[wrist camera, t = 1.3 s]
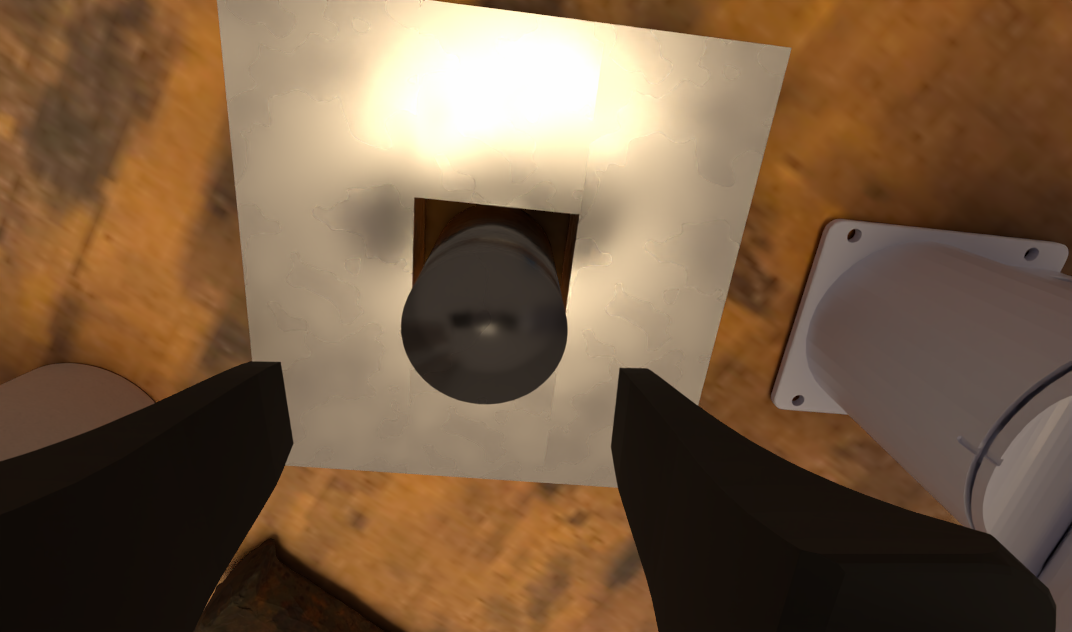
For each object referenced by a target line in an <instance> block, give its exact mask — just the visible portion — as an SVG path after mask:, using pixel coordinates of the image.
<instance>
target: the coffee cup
mask: <svg viewBox="0 0 1072 632" xmlns="http://www.w3.org/2000/svg"><path fill="white" fill-rule="evenodd" d="M154 403H155V402H154V401H153V400H152V399H151V398H150V397H149V396H148V395H147V394H146V393H145V392H143V391H142V390H141V389H140V388H138V387H137V386H136V385H134V384H133V383H131V382H130V381H128V380H126V379H124V378H123V377H121V376H119V375H117V374H114V373H112V372H110V371H107V370H104V369H101V368H98V367H94V366H90V365H84V364H76V363H58V364H51V365H46V366H43V367H40V368H37V369H34V370H32V371H30V372H28V373H26V374H23V375H21V376H19V377H17V378H15V379H12V380H10V381H8V382H6V383H4V384H2V385H0V461H3V460H6V459H9V458H13V457H16V456H20V455H23V454H26V453H29V452H32V451H35V450H38V449H41V448H43V447H46V446H49V445H52V444H55V443H58V442H61V441H63V440H66V439H69V438H72V437H74V436H77V435H80V434H82V433H85V432H88V431H90V430H93V429H95V428H98V427H100V426H103V425H105V424H108V423H110V422H112V421H115V420H117V419H119V418H122V417H124V416H126V415H129V414H131V413H133V412H136V411H138V410H140V409H143V408H145V407H147V406H150V405H152V404H154Z"/></svg>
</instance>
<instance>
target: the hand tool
mask: <svg viewBox="0 0 1072 632" xmlns="http://www.w3.org/2000/svg"><path fill="white" fill-rule="evenodd" d="M194 632H385V631H383V630H382V629H380V628H378V627H377V626H375V625H374V624H373V623H371V622H370V621H368V620H367V619H365V618H364V617H363V616H361V615H360V614H359V613H357V612H356V611H354V610H353V609H351V608H350V607H348V606H346V605H345V604H344V603H343V602H341V601H340V600H338V599H336V598H334V597H333V596H331V595H330V594H328V593H326V592H325V591H323V590H322V589H321V588H319V587H318V586H316V585H315V584H313V583H312V582H311V581H309V580H308V579H306V578H305V577H303V576H301V575H299V574H297V573H295V572H293V571H292V570H291V569H289V568H288V567H287V566H285V565H284V564H283V563H281V562H280V561H279V560H278V559H277V557H276V551H275V542H274V540H272V539H268V540H267V541H265V542H264V543H263V544H262V545H261V546H260V547H258V548H257V549H255V550H253V551H252V552H250V553H249V554H248V555H247V556H246V557H245V558H244V559H242V561H241V562H240V563H239V564H238V565H237V566H236V567H235V568H234V569H233V570H232V571H231V572H230V574H229V575H228V576H227V578H226V579H225V580H224V581H223V582H222V583H221V584H219V585H218V586H217V587H216V590H215V592H214V594H213V596H212V597H211V599H210V601H209V603H208V604H207V606H206V608H205V610H204V611H203V613H202V615H201V617H200V619H199V621H198V623H197V625H196V627H195V630H194Z"/></svg>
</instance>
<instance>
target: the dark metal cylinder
mask: <svg viewBox="0 0 1072 632" xmlns="http://www.w3.org/2000/svg"><path fill="white" fill-rule="evenodd" d="M567 335H568V325H567V317H566V313H565V308H564V304H563V299H562V295H561V290H560V286H559V281H558V277H557V272H556V268H555V264H554V259H553V255H552V250H551V246H550V243H549V240H548V238H547V236H546V234H545V232H544V230H543V229H542V228H541V226H540V225H539V224H538V223H537V222H536V221H535V219H533V218H532V217H531V216H530V215H528V214H527V213H525V212H524V211H522V210H520V209H518V208H513V207H503V206H494V205H484V204H480V205H475V206H473V207H470V208H468V209H466V210H464V211H462V212H460V213H459V214H458V215H456V216H455V217H454V218H453V219H452V220H451V221H450V222H449V223H448V224H447V225H446V227H445V228H444V230H443V231H442V233H441V235H440V237H439V239H438V240H437V242H436V244H435V246H434V248H433V250H432V252H431V254H430V256H429V257H428V259H427V261H426V263H425V265H424V267H423V269H422V271H421V273H420V274H419V276H418V278H417V280H416V282H415V284H414V286H413V288H412V290H411V291H410V293H409V295H408V297H407V300H406V302H405V305H404V308H403V312H402V318H401V336H402V341H403V346H404V349H405V352H406V355H407V357H408V359H409V361H410V362H411V364H412V366H413V367H414V369H415V370H416V371H417V373H418V374H419V375H420V376H421V377H422V378H423V379H424V380H425V381H426V382H427V383H428V384H429V385H430V386H432V387H433V388H435V389H436V390H438V391H439V392H441V393H443V394H445V395H447V396H449V397H451V398H454V399H456V400H459V401H463V402H467V403H473V404H500V403H505V402H509V401H512V400H515V399H518V398H521V397H523V396H525V395H527V394H529V393H531V392H532V391H534V390H535V389H537V388H538V387H539V386H541V385H542V384H543V383H544V382H545V381H546V380H547V379H548V378H549V377H550V376H551V375H552V374H553V372H554V371H555V369H556V368H557V366H558V365H559V363H560V361H561V359H562V356H563V354H564V351H565V347H566V343H567Z"/></svg>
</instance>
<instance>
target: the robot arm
mask: <svg viewBox="0 0 1072 632" xmlns="http://www.w3.org/2000/svg"><path fill="white" fill-rule="evenodd" d="M853 229H855V235H854V236H853V238H851V239H850V240H848V239H847V235H848V233H849V232H850V231H851V230H853ZM1027 250H1029V253H1028V254H1027V255H1026V256H1025V253H1026V252H1027ZM1068 254H1069V252H1068V248H1067V247H1066V245H1063V244H1060V243H1056V242H1051V241H1042V240H1033V239H1023V238H1014V237H1005V236H996V235H986V234H977V233H968V232H959V231H949V230H940V229H931V228H922V227H912V226H903V225H894V224H885V223H875V222H866V221H857V220H847V219H835V220H833V221H831V222H829V223H828V224H827V225H826V227H825V229H824V230H823V233H822V237H821V240H820V243H819V246H818V249H817V252H816V255H815V259H814V262H813V265H812V268H811V271H810V274H809V277H808V281H807V284H806V287H805V290H804V293H803V296H802V299H801V303H800V306H799V309H798V312H797V315H796V318H795V321H794V325H793V328H792V331H791V334H790V337H789V340H788V343H787V347H786V350H785V353H784V356H783V359H782V362H781V365H780V369H779V372H778V375H777V378H776V381H775V384H774V387H773V391H772V394H771V400H772V402H773V403H774V405H775V406H776V407H778V408H780V409H785V410H797V411H810V412H822V413H835V414H847V415H849V416H850V417H851V418H852V419H853V420H854V421H856V422H857V423H858V424H859V425H860V426H861V427H862V428H863V429H864V430H865V431H866V432H867V433H868V434H869V435H870V436H871V437H872V438H873V439H874V440H875V441H876V442H877V443H878V444H879V445H880V446H881V447H882V448H883V449H884V450H885V451H887V452H888V453H889V454H890V455H891V456H892V457H893V458H894V459H895V460H896V461H897V462H898V463H899V464H900V465H901V466H902V467H903V468H904V469H905V470H906V471H907V472H908V473H909V474H910V475H911V476H912V477H913V478H914V479H915V480H916V481H917V482H919V483H920V484H921V485H922V486H923V487H924V488H925V489H926V490H927V491H928V492H929V493H930V494H931V495H932V496H933V497H934V498H935V499H936V500H937V501H938V502H939V503H940V504H941V505H942V506H943V507H944V508H945V509H946V510H947V511H948V512H950V513H951V514H952V515H953V516H954V517H955V518H956V519H957V520H958V521H959V522H960V523H961V524H962V525H963V526H960V525H957V524H954V523H950V522H947V521H943V520H940V519H936V518H933V517H929V516H926V515H923V514H919V513H916V512H913V511H910V510H906V509H904V508H901V507H898V506H895V505H892V504H889V503H887V502H884V501H881V500H878V499H875V498H873V497H870V496H867V495H864V494H862V493H859V492H857V491H854V490H852V489H849V488H846V487H844V486H841V485H839V484H837V483H834V482H832V481H830V480H828V479H825V478H823V477H821V476H819V475H816V474H814V473H812V472H810V471H807V470H805V469H803V468H801V467H799V466H797V465H795V464H793V463H791V462H789V461H787V460H785V459H783V458H781V457H779V456H777V455H775V454H774V453H772V452H770V451H768V450H766V449H764V448H763V447H761V446H759V445H757V444H755V443H754V442H752V441H750V440H749V439H747V438H745V437H744V436H742V435H740V434H739V433H737V432H736V431H734V430H733V429H731V428H730V427H728V426H727V425H725V424H723V423H722V422H720V421H719V420H717V419H716V418H715V417H713V416H712V415H710V414H709V413H707V412H706V411H705V410H703V409H702V408H700V407H699V406H698V405H696V404H695V403H694V402H692V401H691V400H690V399H688V398H687V397H686V396H684V395H683V394H682V393H680V392H679V391H678V390H677V389H675V388H674V387H673V386H671V385H670V384H669V383H667V382H666V381H665V380H664V379H662V378H661V377H660V376H658V375H657V374H655V373H654V372H653V371H651V370H649V369H648V368H619V377H618V386H617V395H616V404H615V413H614V422H613V431H612V440H611V451H612V457H613V464H614V470H615V475H616V481H617V486H618V490H619V493H620V496H621V500H622V503H623V506H624V509H625V512H626V516H627V519H628V522H629V525H630V528H631V531H632V535H633V538H634V541H635V544H636V547H637V550H638V553H639V557H640V560H641V563H642V566H643V569H644V572H645V575H646V579H647V583H648V586H649V590H650V594H651V597H652V602H653V607H654V611H655V616H656V621H657V626H658V631H659V632H1072V276H1069V275H1066V274H1063V273H1060V272H1061V270H1062V268H1063V266H1064V264H1065V262H1066V260H1067V257H1068ZM1024 256H1025V257H1024ZM797 395H800V396H799V398H798V399H797V400H795V401H792V399H793V398H794V397H795V396H797ZM293 444H294V442H293V436H292V430H291V423H290V417H289V411H288V404H287V398H286V392H285V385H284V379H283V373H282V366H281V362H263V361H251V362H248V363H244V364H241V365H239V366H236V367H234V368H231V369H229V370H226V371H224V372H222V373H220V374H217V375H215V376H213V377H211V378H209V379H206V380H204V381H202V382H200V383H198V384H196V385H193V386H191V387H189V388H187V389H185V390H183V391H180V392H178V393H176V394H174V395H172V396H170V397H168V398H165V399H163V400H161V401H159V402H157V403H154V404H152V405H150V406H147V407H145V408H143V409H140V410H138V411H136V412H133V413H131V414H129V415H126V416H124V417H122V418H119V419H117V420H115V421H112V422H110V423H108V424H105V425H103V426H100V427H98V428H95V429H93V430H90V431H88V432H85V433H82V434H80V435H77V436H74V437H72V438H69V439H66V440H63V441H61V442H58V443H55V444H52V445H49V446H46V447H43V448H41V449H38V450H35V451H32V452H29V453H26V454H23V455H20V456H16V457H13V458H9V459H6V460H3V461H0V632H194V630H195V627H196V625H197V623H198V621H199V619H200V617H201V615H202V613H203V610H204V608H205V606H206V604H207V602H208V600H209V598H210V596H211V595H212V593H213V591H214V589H215V587H216V585H217V584H218V582H219V580H220V578H221V577H222V575H223V573H224V572H225V570H226V568H227V567H228V565H229V563H230V562H231V560H232V558H233V557H234V555H235V553H236V552H237V550H238V548H239V547H240V545H241V543H242V542H243V540H244V538H245V537H246V535H247V534H248V532H249V530H250V529H251V527H252V525H253V524H254V522H255V520H256V519H257V517H258V515H259V514H260V512H261V510H262V509H263V507H264V505H265V503H266V502H267V500H268V498H269V497H270V495H271V493H272V492H273V490H274V488H275V486H276V485H277V482H278V480H279V478H280V476H281V473H282V471H283V469H284V466H285V464H286V461H287V459H288V456H289V454H290V451H291V449H292V446H293Z"/></svg>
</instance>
